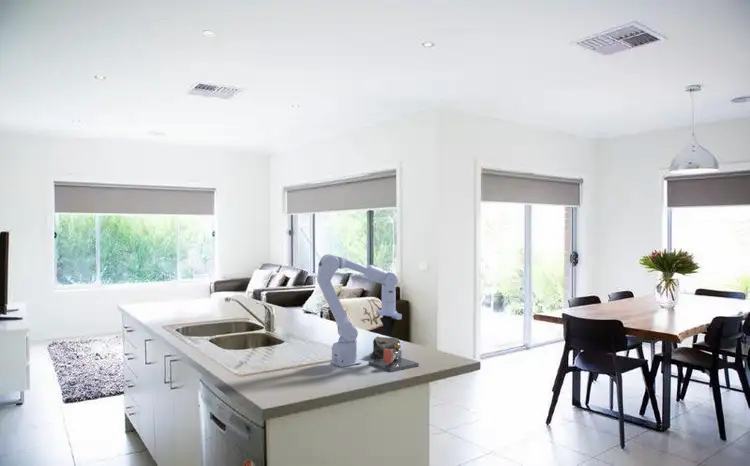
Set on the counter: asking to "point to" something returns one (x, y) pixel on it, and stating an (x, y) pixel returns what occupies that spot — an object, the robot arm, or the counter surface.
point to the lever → (390, 355)
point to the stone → (382, 346)
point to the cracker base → (394, 362)
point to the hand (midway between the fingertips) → (388, 334)
